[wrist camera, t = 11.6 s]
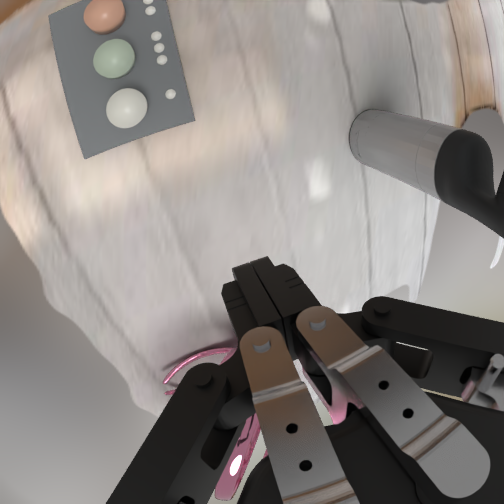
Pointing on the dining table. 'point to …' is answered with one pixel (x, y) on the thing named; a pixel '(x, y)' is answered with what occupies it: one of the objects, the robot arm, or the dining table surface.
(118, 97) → the cream button
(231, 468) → the spiral basket
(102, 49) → the sage button
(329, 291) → the dining table surface
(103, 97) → the charcoal panel
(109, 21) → the terracotta button
